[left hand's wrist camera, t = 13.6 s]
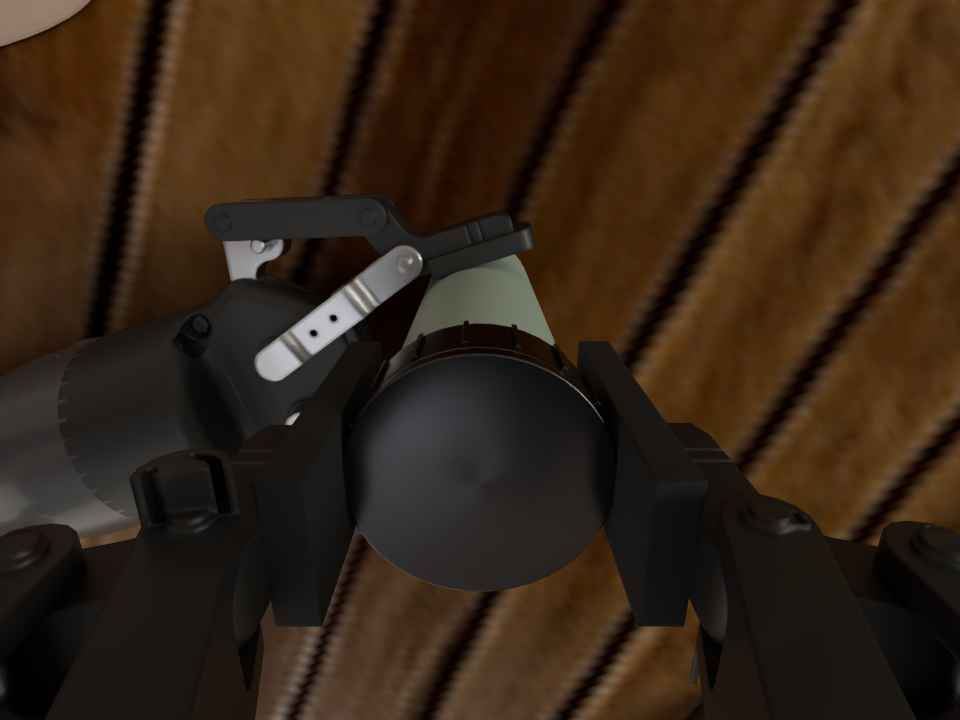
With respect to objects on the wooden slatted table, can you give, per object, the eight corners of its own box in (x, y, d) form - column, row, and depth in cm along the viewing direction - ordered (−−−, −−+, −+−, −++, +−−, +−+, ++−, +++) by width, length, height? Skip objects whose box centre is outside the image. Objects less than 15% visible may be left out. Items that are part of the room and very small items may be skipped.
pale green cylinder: (426, 243, 25) (347, 364, 10) (526, 236, 25) (596, 348, 10) (436, 337, 27) (380, 565, 12) (529, 331, 27) (594, 552, 12)
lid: (331, 493, 13) (305, 550, 11) (401, 281, 11) (385, 305, 9) (542, 559, 13) (552, 624, 11) (640, 368, 12) (670, 407, 10)
